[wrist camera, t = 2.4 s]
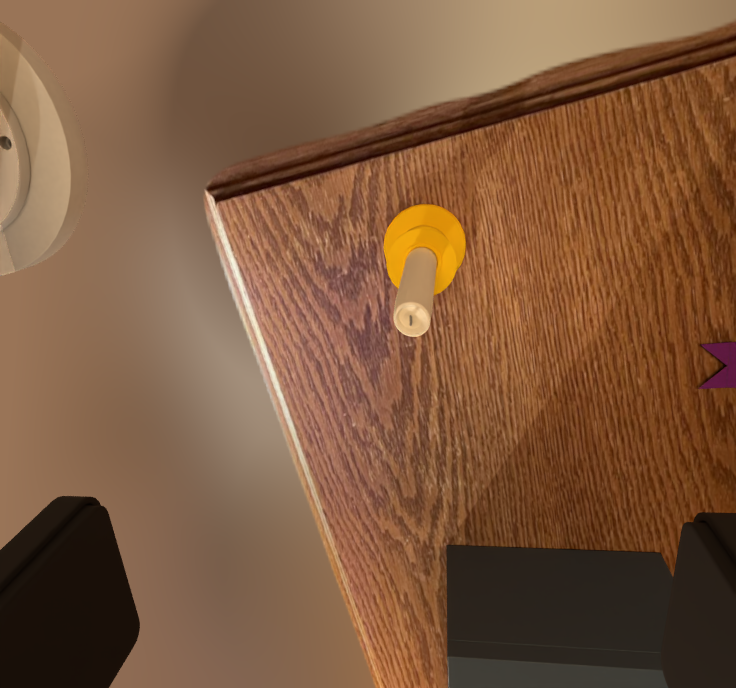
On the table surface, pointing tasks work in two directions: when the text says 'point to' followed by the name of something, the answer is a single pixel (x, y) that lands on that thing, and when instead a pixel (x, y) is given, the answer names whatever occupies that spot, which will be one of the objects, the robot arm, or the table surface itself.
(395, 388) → the table surface
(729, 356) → the book
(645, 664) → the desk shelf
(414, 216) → the candle
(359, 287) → the table surface
